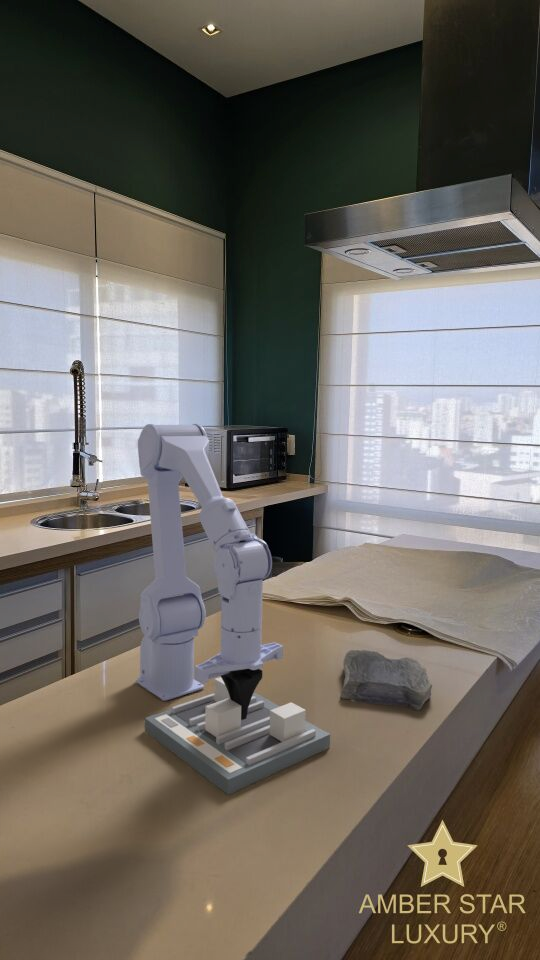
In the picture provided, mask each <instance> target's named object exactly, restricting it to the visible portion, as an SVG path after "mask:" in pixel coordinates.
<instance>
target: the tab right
mask: <svg viewBox="0 0 540 960" xmlns="http://www.w3.org/2000/svg"><path fill="white" fill-rule="evenodd" d="M279 706H280V707H278V708H275V709H272V710H270V733H269V734H270V735H272V736H273V737H275V738H277V739H278V740H280V741H281V742H284V741H286V740H288V739H291V738H293V737H295V736H298V735H300V734H302V733H305V722H306V721H307V720H306V718H307V717H306V716H307V710H306V709H305V708H302V707H301V706H299V705H297V704H295V703H293V702H291V701H290V702H288V703H286V704H284V705H279Z"/></svg>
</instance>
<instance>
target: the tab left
mask: <svg viewBox="0 0 540 960" xmlns="http://www.w3.org/2000/svg"><path fill="white" fill-rule="evenodd" d="M213 693H214V701H216V702H219V701H222V700H225V699H228V698H229V699H230V696H229V693H228V690H227V688H226V685H225V683H224V681H223V680H222V678H221V676H218V677H215V678H214V692H213ZM230 700H231V699H230Z"/></svg>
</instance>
